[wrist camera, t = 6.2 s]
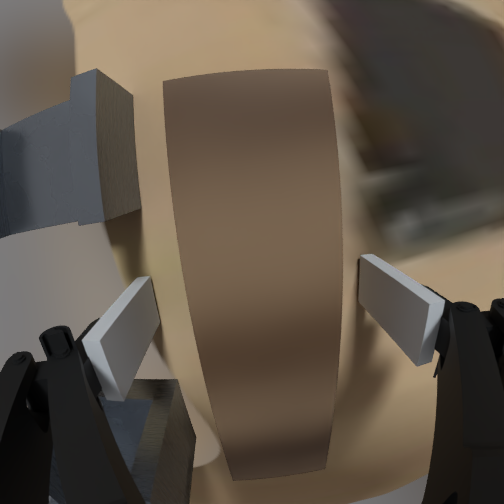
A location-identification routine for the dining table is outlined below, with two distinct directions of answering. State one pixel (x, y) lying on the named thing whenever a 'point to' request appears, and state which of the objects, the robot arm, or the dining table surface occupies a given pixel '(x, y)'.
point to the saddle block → (71, 160)
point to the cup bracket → (149, 441)
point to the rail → (261, 257)
